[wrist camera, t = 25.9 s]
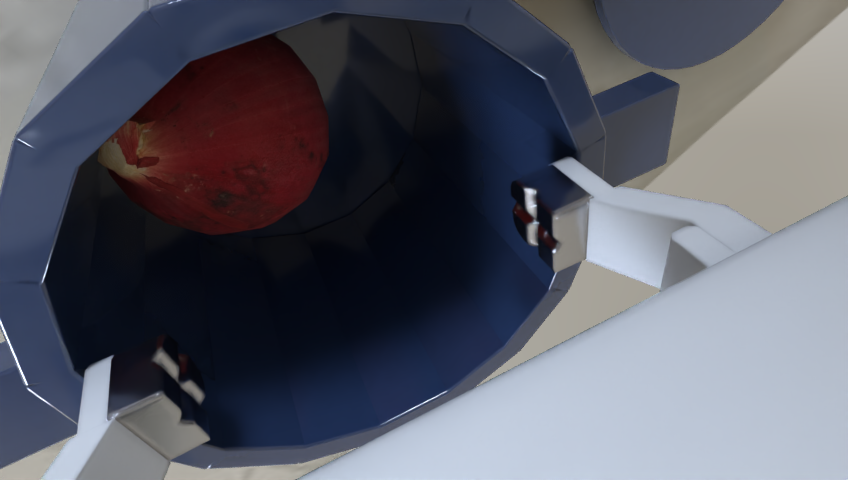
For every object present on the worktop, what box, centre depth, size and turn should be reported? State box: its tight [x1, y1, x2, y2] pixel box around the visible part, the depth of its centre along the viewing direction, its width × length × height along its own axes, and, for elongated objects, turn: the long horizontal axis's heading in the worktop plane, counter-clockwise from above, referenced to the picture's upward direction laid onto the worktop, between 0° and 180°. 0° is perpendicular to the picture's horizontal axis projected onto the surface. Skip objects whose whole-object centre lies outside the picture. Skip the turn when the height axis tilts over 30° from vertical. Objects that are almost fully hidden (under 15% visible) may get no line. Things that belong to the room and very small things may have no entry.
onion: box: [97, 35, 329, 235], centre depth 13 cm, size 6×6×8 cm
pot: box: [0, 0, 680, 469], centre depth 15 cm, size 13×18×10 cm
